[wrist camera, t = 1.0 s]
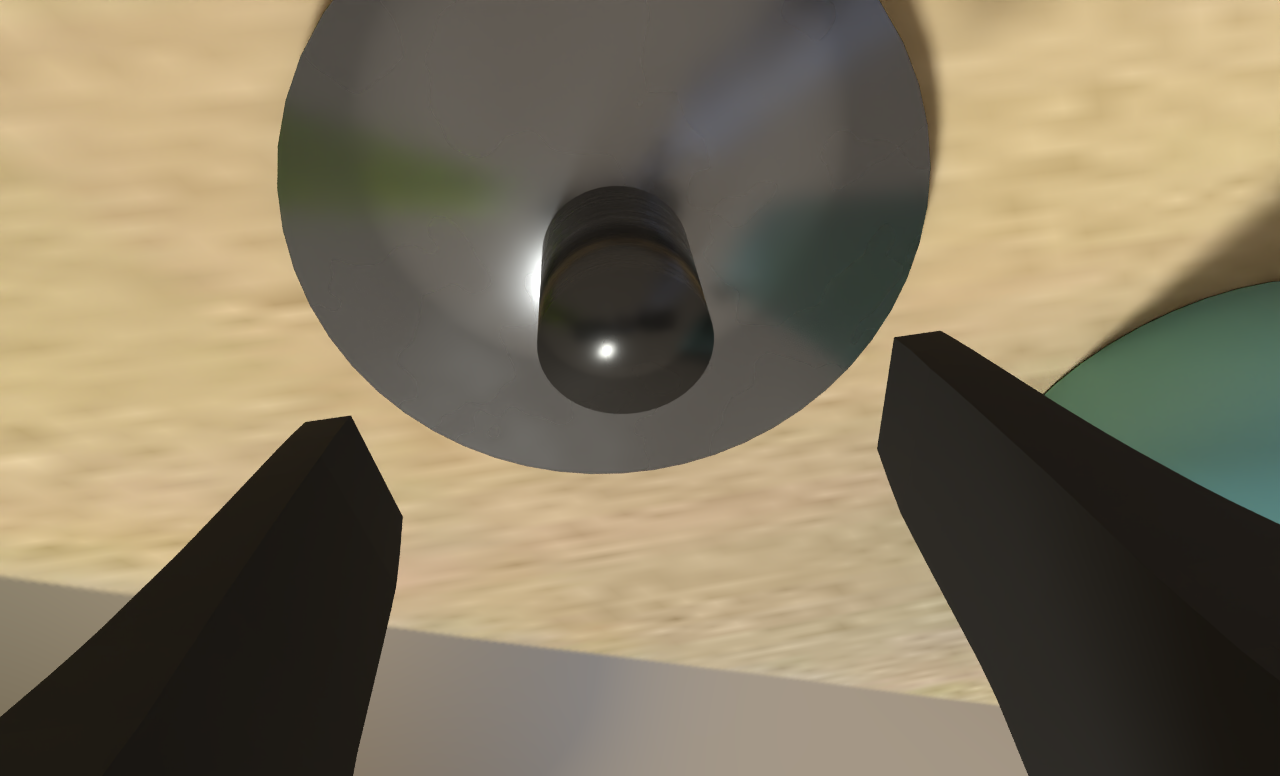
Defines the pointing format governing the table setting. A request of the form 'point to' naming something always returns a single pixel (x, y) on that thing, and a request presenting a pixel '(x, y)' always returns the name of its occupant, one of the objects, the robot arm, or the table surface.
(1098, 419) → the pot
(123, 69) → the table surface
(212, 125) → the table surface
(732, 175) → the lid
